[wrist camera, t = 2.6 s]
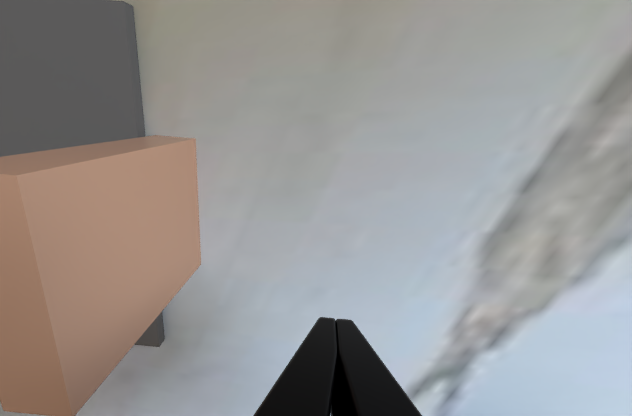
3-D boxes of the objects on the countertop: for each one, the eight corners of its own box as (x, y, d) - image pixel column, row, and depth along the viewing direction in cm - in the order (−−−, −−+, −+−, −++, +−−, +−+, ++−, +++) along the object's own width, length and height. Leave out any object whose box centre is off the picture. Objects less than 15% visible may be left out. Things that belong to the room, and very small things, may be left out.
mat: (164, 339, 19) (159, 347, 18) (6, 324, 19) (-4, 331, 18) (132, 6, 13) (123, 1, 13) (-90, -12, 13) (-109, -17, 13)
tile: (201, 264, 17) (73, 417, 9) (164, 260, 17) (0, 410, 9) (195, 138, 15) (16, 175, 6) (153, 134, 15) (-80, 167, 6)
